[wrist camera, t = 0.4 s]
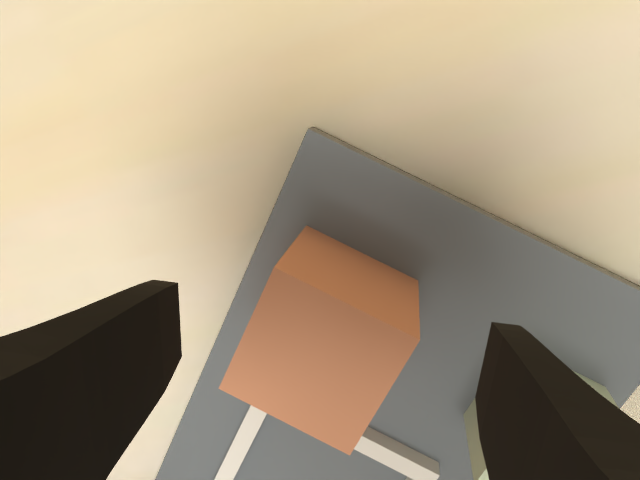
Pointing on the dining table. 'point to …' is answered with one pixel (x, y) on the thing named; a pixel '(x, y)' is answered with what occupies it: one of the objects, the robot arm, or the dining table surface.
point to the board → (435, 324)
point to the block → (326, 340)
